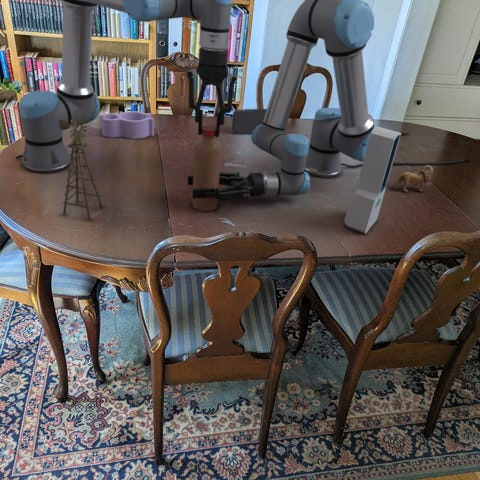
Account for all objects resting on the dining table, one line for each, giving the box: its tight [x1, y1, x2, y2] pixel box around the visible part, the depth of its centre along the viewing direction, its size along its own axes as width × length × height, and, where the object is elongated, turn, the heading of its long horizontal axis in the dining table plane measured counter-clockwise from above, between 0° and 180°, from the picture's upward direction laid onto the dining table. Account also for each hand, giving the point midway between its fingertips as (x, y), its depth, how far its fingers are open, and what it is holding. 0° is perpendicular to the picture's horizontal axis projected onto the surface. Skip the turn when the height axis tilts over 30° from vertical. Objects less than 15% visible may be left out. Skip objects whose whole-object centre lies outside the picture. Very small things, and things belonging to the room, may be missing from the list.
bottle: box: [191, 135, 223, 212], centre depth 139 cm, size 8×8×24 cm
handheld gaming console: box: [231, 108, 267, 135], centre depth 202 cm, size 23×3×10 cm, turn 108°
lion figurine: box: [392, 165, 434, 193], centre depth 167 cm, size 15×5×9 cm, turn 110°
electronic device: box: [343, 126, 402, 235], centre depth 137 cm, size 12×8×30 cm, turn 148°
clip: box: [100, 110, 155, 140], centre depth 188 cm, size 20×12×7 cm, turn 109°
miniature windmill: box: [59, 109, 104, 220], centre depth 128 cm, size 9×8×30 cm
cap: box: [201, 124, 216, 138], centre depth 133 cm, size 4×4×2 cm
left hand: (208, 134), depth 133 cm, fingers closed on cap, 4 cm apart
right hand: (190, 187), depth 141 cm, fingers closed on bottle, 8 cm apart
